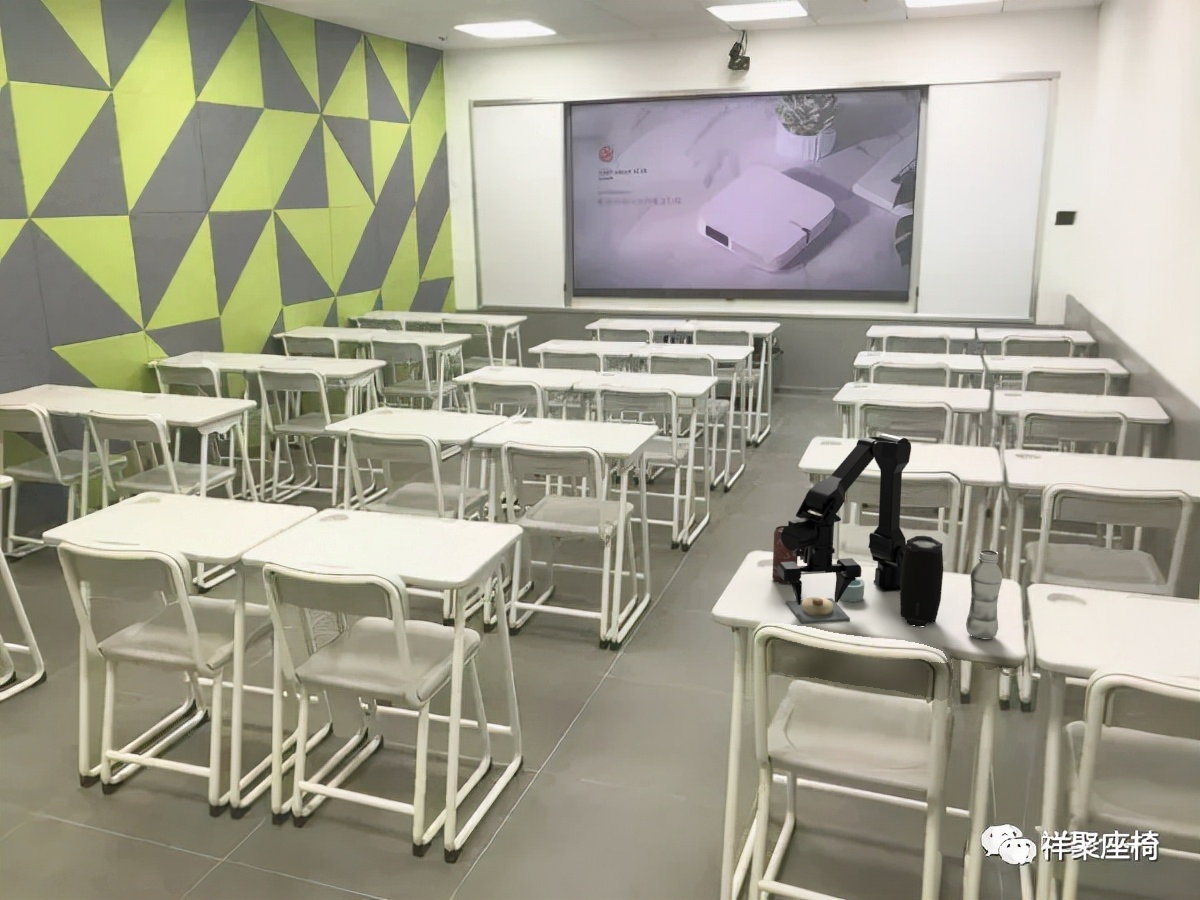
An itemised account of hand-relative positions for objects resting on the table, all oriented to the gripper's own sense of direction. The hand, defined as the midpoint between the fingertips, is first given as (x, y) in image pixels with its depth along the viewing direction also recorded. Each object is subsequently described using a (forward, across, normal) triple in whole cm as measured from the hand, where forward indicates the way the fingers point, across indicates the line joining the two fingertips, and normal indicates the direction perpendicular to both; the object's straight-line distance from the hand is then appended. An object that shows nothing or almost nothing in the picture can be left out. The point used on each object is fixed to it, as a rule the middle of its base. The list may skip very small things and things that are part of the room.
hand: (817, 603), depth 224 cm
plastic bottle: (+2, -32, +18) cm, 36 cm away
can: (+2, +1, -20) cm, 20 cm away
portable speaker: (+2, -22, +8) cm, 23 cm away
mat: (+2, 0, 0) cm, 2 cm away
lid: (+2, 0, 0) cm, 2 cm away
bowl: (+2, -11, -7) cm, 13 cm away
